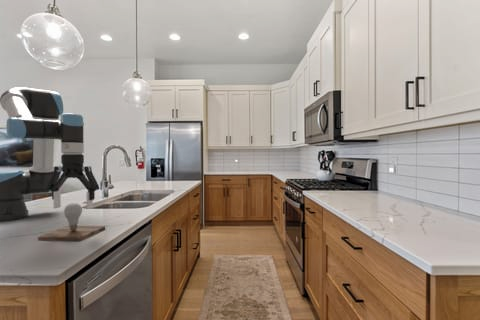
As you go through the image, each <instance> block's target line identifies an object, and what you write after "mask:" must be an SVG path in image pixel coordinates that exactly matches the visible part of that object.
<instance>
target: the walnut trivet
mask: <svg viewBox="0 0 480 320" xmlns="http://www.w3.org/2000/svg"><path fill="white" fill-rule="evenodd" d="M104 230H106V226H105V225H77V229H76V230H75V231H72V230H70V227H69V225H67V226H64V227H61V228H59V229H56V230H53V231H50V232H48V233H44V234H42V235H39V236H37V240H38V241H61V242H62V241H63V242H64V241H65V242H67V241H68V242H71V241H72V242H80V241H83V240H85V239H87V238H89V237H92V236H93V235H95V234H98V233H100V232H102V231H104Z"/></svg>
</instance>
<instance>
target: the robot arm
mask: <svg viewBox="0 0 480 320" xmlns="http://www.w3.org/2000/svg"><path fill="white" fill-rule="evenodd" d="M0 105H1V108H2V109H3V110H4V111H5V112H6V113H7V115H8V118H7V119H6V126H5V127H6V134H7V136H8V137H9V138H14V139H32V140H33V154H32V155H33V157H32V166H30V167H29V168H28V170H29V171H27V172H26V171H24V169H16V170H15V169H14V170H8V171H7V170H6V171H0V222H3V221H5V222H6V221H14V220H18V219H23V218H27V217H29V215H30V213H29V210H28V208H27V204H26V202H25V196H30V195H43V194H51V199H52V200H53V209H59V208H61V207H62V205H61V204H62V203H61V201H62V200H61V190H60V188H62V186H63V185H64V183H65V182H66V181H67V180H68V179H77V180H79V181H80V182H81V183H82V185H83V186H84V187H85V189H86V190H87V191H86V210H90V209H93V208H94V200H95V199H96V198H95V196H96V195H95V194H96V193H95V192H96V191H98V190H100V188H101V187H100V186H99V184H98V182H97V179H96V178H95V177H96V176H95V175H94V174H93V169H92V166H91V165H87V166H84V163H85V161H84V159H85V158H84V157H85V156H84V154H83V153H84V151H85V145H84V126H85V123H84V117H83V115H82V114H77V113H64V101H63V98H62V96H61V94H60V93H59V92H57V91H52V90H47V89H46V90H45V89H38V88H31V87H30V88H29V87H23V86H21V87H20V86H18V87H12V88H9V89H7V90H5V91H3V92H2V94H1V95H0ZM59 117H60V118H59ZM55 140H58V141H59V140H60V144H61V145H60V147H61V148H60V152H61V157H60V159H61V162H60V163H61V164H62V166H61V165H57V166H54V154H55V153H54V152H55ZM84 173H85V174H84Z"/></svg>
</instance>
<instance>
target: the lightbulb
mask: <svg viewBox="0 0 480 320" xmlns="http://www.w3.org/2000/svg"><path fill="white" fill-rule="evenodd" d="M82 213H83V207H82V206H81V205H80V204H79V203H76V202H75V203H74V202H72V203H69V204H67V205H66V206H65V207H64V209H63V215H64V216H65V218H66V219H67V222H68V226H69V227H70V230H72V231H75V230H76V229H77V226H78V225H79V219H80V217H81V215H82Z"/></svg>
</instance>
